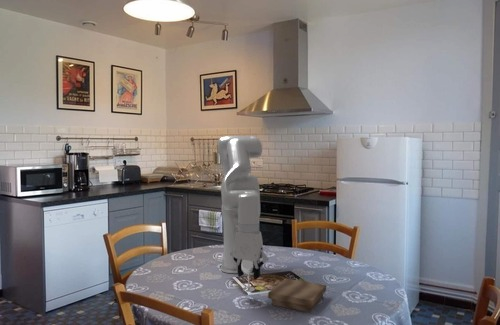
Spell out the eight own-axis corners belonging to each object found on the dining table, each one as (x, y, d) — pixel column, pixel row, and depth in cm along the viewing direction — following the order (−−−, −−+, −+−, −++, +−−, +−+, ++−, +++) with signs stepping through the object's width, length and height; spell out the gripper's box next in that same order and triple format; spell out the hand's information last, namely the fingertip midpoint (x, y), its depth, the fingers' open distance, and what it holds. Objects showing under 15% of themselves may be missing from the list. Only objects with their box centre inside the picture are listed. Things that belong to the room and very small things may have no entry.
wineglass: (240, 286, 144) (240, 254, 143) (255, 285, 144) (255, 254, 144) (241, 292, 138) (241, 259, 137) (257, 292, 139) (257, 259, 138)
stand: (268, 305, 136) (268, 292, 136) (285, 289, 150) (285, 278, 150) (312, 314, 129) (312, 300, 129) (326, 297, 143) (326, 285, 143)
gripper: (222, 227, 140) (223, 276, 142) (266, 232, 133) (266, 284, 134) (233, 223, 147) (233, 270, 148) (274, 228, 139) (274, 277, 140)
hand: (248, 276), depth 141 cm, fingers closed on wineglass, 5 cm apart
